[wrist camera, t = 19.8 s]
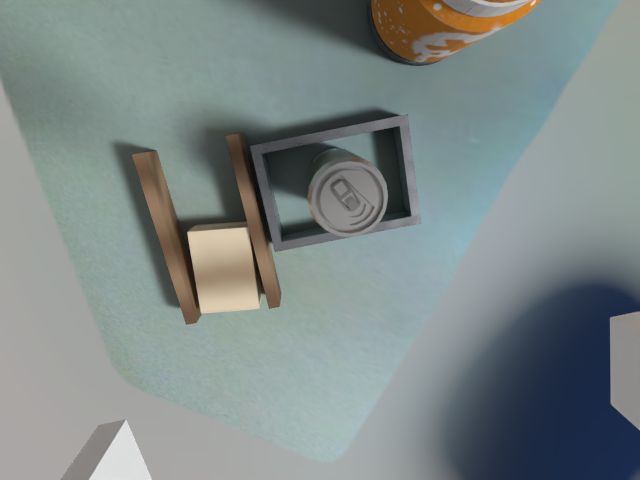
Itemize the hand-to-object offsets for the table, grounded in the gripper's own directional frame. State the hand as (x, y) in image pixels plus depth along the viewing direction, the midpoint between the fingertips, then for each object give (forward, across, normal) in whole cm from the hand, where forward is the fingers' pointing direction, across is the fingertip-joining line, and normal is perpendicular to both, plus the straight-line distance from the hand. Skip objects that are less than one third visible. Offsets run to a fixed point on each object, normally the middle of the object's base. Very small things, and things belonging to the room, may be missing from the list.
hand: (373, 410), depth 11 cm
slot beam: (+28, -10, 0) cm, 30 cm away
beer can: (+28, +2, +3) cm, 28 cm away
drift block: (+28, -10, -3) cm, 30 cm away
